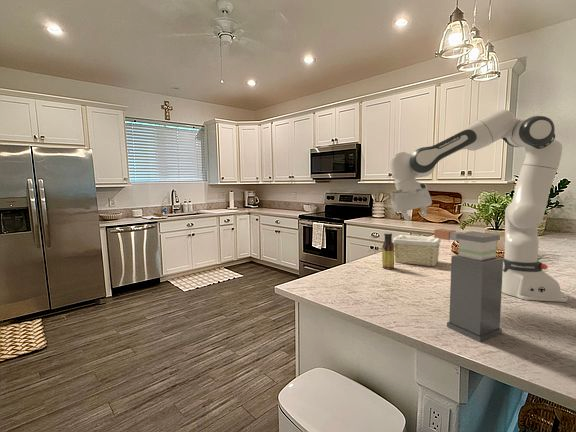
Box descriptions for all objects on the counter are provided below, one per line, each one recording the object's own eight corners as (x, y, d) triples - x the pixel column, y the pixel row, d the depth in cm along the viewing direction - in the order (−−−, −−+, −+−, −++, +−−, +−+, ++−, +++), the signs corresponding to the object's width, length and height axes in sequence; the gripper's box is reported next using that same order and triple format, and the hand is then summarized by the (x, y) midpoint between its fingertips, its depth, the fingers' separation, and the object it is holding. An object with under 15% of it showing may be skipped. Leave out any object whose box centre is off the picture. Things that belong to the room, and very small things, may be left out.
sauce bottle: (384, 265, 173) (385, 231, 171) (395, 267, 169) (396, 232, 167) (380, 268, 168) (380, 233, 166) (391, 270, 164) (391, 234, 162)
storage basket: (391, 262, 180) (391, 238, 179) (399, 256, 193) (399, 234, 192) (435, 268, 166) (436, 241, 165) (440, 261, 179) (441, 237, 178)
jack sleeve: (502, 333, 95) (506, 258, 92) (480, 342, 90) (483, 263, 87) (468, 319, 105) (470, 251, 102) (446, 326, 100) (449, 255, 97)
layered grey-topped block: (496, 309, 94) (500, 234, 92) (479, 314, 91) (483, 237, 88) (444, 291, 111) (446, 227, 108) (428, 295, 107) (429, 229, 105)
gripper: (394, 189, 126) (404, 220, 124) (429, 184, 134) (438, 214, 132) (384, 193, 132) (393, 224, 129) (418, 188, 140) (427, 217, 138)
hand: (416, 219), depth 131 cm, fingers open, 8 cm apart
